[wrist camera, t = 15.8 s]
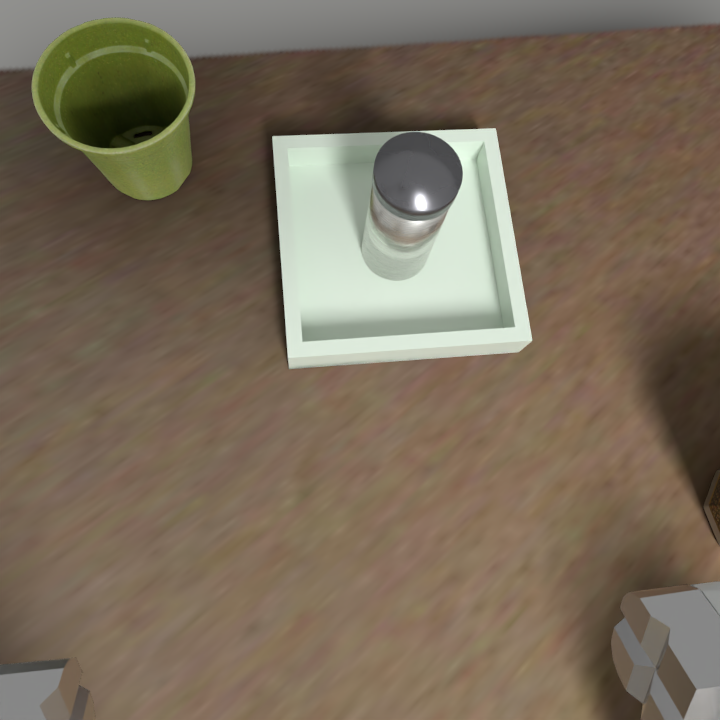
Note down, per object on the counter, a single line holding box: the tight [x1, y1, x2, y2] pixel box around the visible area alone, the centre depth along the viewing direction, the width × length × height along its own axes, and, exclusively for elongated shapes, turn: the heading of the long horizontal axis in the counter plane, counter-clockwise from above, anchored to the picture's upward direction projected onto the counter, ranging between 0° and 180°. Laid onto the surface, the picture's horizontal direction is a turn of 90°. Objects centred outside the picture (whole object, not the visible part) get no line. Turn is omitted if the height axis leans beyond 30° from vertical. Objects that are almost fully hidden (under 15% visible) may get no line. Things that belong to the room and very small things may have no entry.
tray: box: [272, 128, 532, 369], centre depth 44 cm, size 16×16×3 cm
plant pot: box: [32, 18, 195, 200], centre depth 42 cm, size 9×9×9 cm
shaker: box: [361, 132, 463, 281], centre depth 40 cm, size 5×5×10 cm
